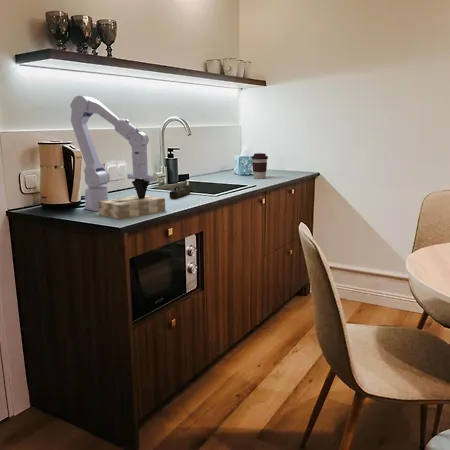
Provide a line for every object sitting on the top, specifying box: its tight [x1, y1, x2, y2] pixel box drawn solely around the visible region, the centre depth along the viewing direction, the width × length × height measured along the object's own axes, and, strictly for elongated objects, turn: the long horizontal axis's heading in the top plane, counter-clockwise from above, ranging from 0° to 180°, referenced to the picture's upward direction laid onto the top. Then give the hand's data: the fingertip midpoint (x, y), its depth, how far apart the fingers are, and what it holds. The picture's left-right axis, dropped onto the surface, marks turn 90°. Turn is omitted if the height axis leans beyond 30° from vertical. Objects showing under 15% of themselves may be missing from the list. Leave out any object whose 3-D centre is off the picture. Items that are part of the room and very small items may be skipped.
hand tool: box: [168, 184, 191, 200], centre depth 221 cm, size 19×4×5 cm, turn 158°
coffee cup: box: [251, 152, 269, 180], centre depth 286 cm, size 10×10×15 cm
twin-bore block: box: [98, 194, 166, 220], centre depth 181 cm, size 14×21×5 cm, turn 138°
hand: (141, 198), depth 184 cm, fingers closed, pressing on far peg
